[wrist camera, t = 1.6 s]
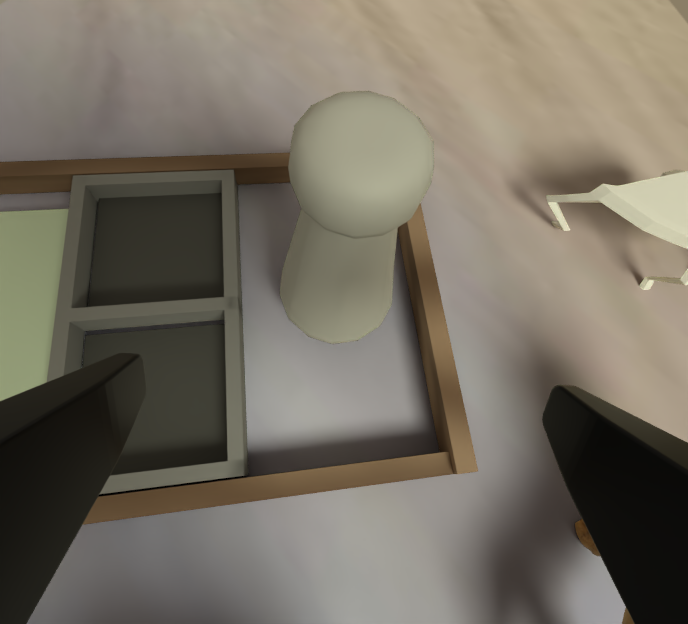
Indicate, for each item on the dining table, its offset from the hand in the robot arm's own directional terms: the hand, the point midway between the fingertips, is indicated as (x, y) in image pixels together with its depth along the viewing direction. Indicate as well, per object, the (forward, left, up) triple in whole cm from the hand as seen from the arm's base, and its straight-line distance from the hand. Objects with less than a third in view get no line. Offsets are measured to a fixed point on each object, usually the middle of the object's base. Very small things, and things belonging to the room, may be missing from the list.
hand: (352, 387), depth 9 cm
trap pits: (+7, +8, -13) cm, 17 cm away
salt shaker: (+7, -1, -13) cm, 15 cm away
